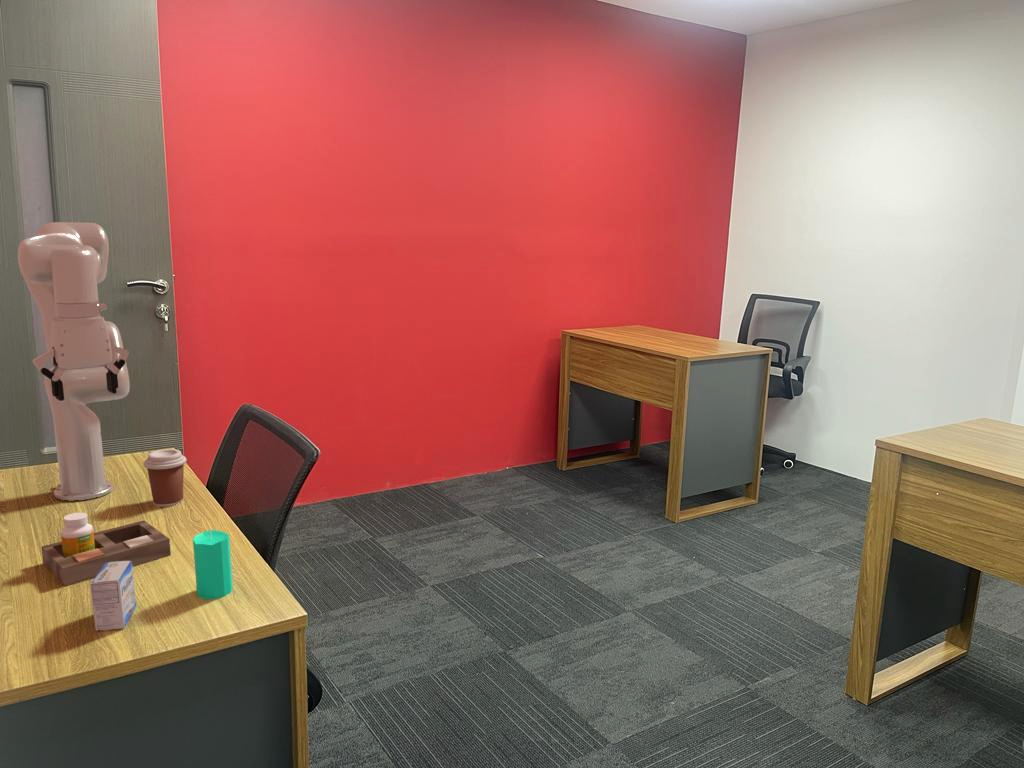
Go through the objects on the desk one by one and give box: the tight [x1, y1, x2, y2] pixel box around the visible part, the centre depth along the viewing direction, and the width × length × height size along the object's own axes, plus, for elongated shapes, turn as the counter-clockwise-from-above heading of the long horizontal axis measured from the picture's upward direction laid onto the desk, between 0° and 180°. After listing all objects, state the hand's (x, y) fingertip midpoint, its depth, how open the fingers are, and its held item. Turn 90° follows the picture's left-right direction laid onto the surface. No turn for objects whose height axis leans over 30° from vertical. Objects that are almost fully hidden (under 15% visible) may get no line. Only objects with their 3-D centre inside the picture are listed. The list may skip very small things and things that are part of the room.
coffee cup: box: [143, 448, 187, 508], centre depth 179 cm, size 9×9×12 cm
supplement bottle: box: [60, 512, 95, 558], centre depth 147 cm, size 5×5×10 cm
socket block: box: [41, 520, 172, 587], centre depth 149 cm, size 13×19×4 cm
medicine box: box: [89, 561, 137, 632], centre depth 127 cm, size 8×4×9 cm, turn 12°
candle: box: [192, 528, 234, 600], centre depth 137 cm, size 6×6×12 cm
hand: (86, 395), depth 154 cm, fingers open, 9 cm apart
